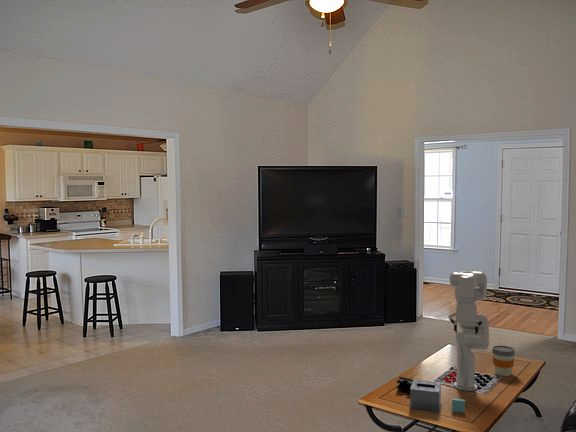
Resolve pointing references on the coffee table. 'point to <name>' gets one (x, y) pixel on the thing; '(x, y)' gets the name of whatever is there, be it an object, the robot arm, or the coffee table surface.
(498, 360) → the reusable coffee cup
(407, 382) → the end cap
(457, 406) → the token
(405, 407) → the coffee table surface
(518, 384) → the coffee table surface
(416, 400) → the box
